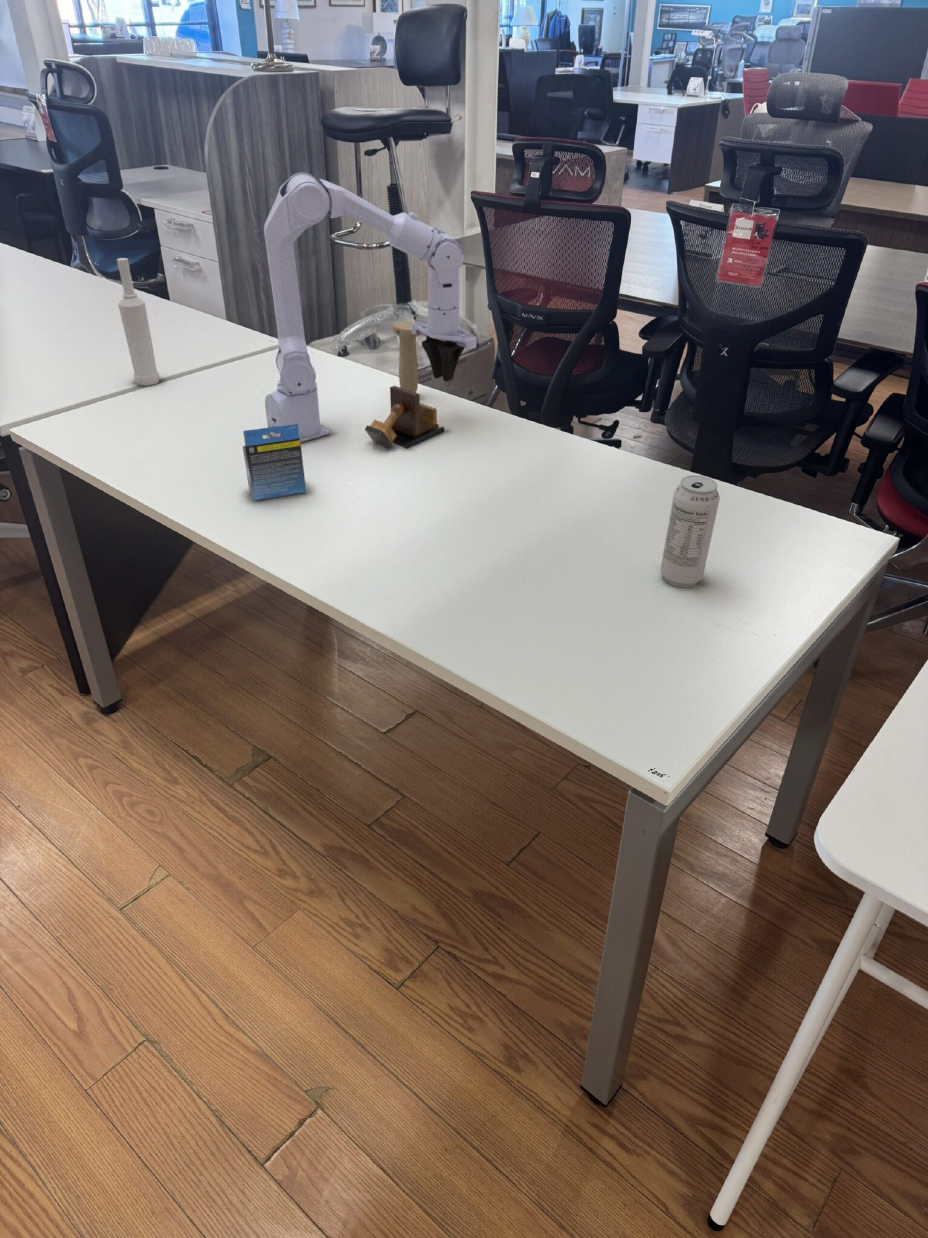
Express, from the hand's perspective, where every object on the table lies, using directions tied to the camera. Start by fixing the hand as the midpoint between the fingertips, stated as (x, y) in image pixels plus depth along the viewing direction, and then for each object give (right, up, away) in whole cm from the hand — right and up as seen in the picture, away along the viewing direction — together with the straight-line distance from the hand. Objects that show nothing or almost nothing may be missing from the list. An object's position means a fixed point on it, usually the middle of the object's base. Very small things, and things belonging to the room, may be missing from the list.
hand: (443, 378), depth 163 cm
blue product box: (-27, -25, -21) cm, 43 cm away
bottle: (-64, +5, +20) cm, 68 cm away
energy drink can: (+35, -41, -41) cm, 68 cm away
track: (-6, -11, -1) cm, 13 cm away
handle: (-8, 0, +14) cm, 16 cm away
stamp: (-10, -14, -5) cm, 18 cm away
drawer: (-5, -10, -1) cm, 11 cm away
